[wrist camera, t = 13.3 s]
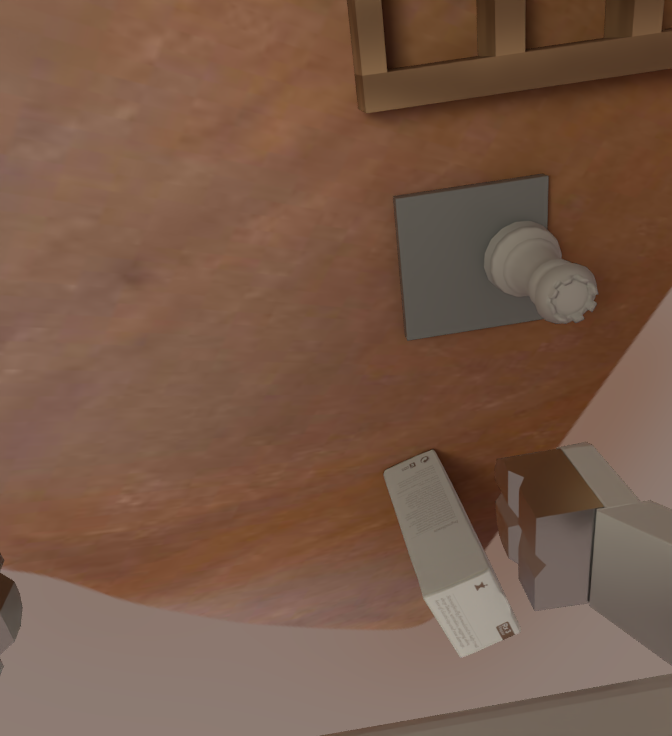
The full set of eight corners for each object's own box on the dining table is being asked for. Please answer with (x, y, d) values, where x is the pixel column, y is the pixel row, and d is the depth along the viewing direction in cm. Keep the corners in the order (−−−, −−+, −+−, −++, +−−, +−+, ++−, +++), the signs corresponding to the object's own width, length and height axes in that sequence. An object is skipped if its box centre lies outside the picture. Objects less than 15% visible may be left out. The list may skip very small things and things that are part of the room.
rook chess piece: (567, 241, 39) (635, 284, 32) (522, 302, 40) (578, 355, 33) (511, 204, 37) (569, 240, 30) (466, 268, 39) (512, 317, 32)
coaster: (393, 196, 37) (395, 198, 37) (543, 173, 38) (548, 175, 37) (404, 335, 41) (407, 340, 41) (540, 314, 42) (545, 318, 41)
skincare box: (379, 470, 46) (415, 599, 35) (436, 444, 45) (490, 566, 35) (412, 528, 49) (455, 664, 38) (466, 504, 48) (525, 635, 37)
